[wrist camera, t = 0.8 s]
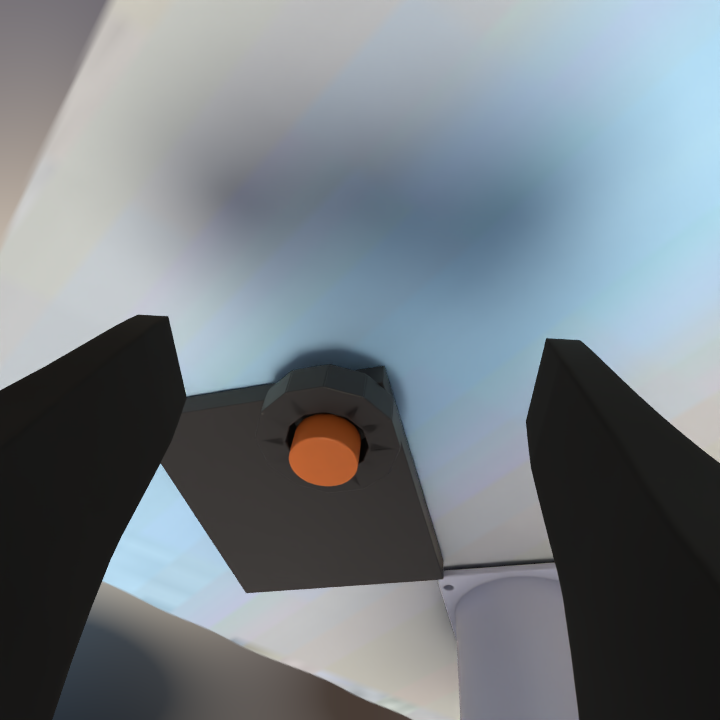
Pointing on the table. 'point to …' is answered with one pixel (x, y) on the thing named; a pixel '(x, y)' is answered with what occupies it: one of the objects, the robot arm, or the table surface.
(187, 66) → the table surface
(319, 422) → the button
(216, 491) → the scale
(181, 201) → the table surface
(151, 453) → the robot arm
